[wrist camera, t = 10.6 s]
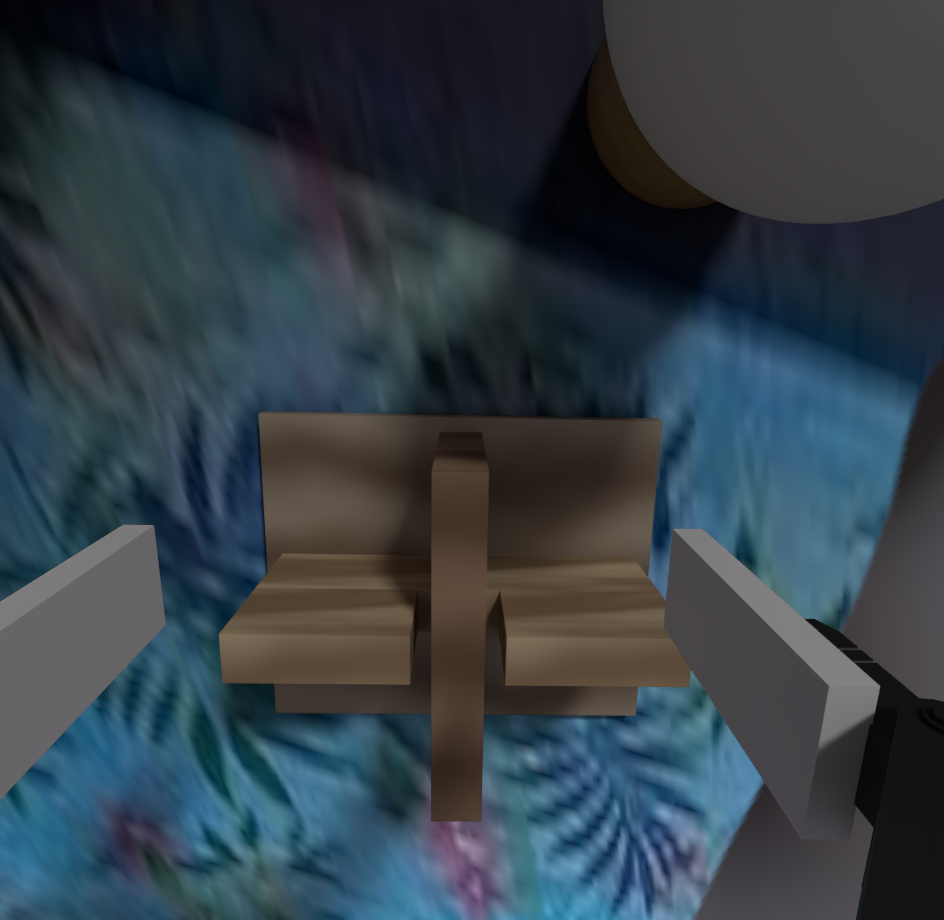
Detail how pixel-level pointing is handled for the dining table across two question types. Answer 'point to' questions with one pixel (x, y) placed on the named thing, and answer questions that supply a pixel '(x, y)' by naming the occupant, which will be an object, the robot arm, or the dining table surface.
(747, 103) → the lamp
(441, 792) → the walnut plate
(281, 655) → the wooden joinery piece
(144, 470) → the dining table surface
